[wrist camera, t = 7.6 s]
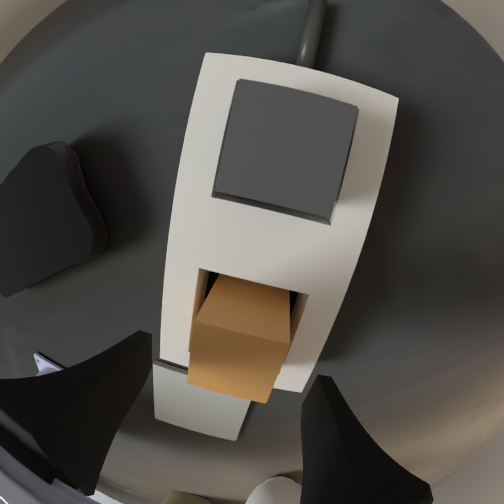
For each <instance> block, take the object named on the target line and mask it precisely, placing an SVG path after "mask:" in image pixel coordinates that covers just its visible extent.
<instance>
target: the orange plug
mask: <svg viewBox="0 0 504 504" xmlns="http://www.w3.org/2000/svg"><path fill="white" fill-rule="evenodd" d="M289 346H290V300H289V290H287V289H283V288H279V287H274V286H270V285H266V284H262V283H258V282H253V281H249V280H245V279H241V278H237V277H233V276H229V275H225V274H221V273H220V274H219V276H218V278H217V280H216V281H215V283H214V285H213V287H212V289H211V290H210V292H209V294H208V296H207V298H206V300H205V301H204V303H203V305H202V307H201V309H200V311H199V312H198V314H197V316H196V318H195V320H194V326H193V334H192V341H191V349H190V358H189V366H188V376H187V384H190V385H193V386H196V387H200V388H203V389H207V390H210V391H214V392H218V393H222V394H226V395H230V396H234V397H238V398H242V399H247V400H252V401H256V402H261V403H266V402H267V400H268V398H269V395H270V393H271V391H272V388H273V386H274V383H275V381H276V379H277V376H278V374H279V371H280V369H281V366H282V364H283V361H284V359H285V356H286V354H287V351H288V348H289Z"/></svg>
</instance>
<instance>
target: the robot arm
mask: <svg viewBox="0 0 504 504" xmlns="http://www.w3.org/2000/svg"><path fill="white" fill-rule="evenodd" d="M34 357H35V360H36V363H37V366H38V368H39V371H40V372H39V373H38V374H37V375H36V376H34V377H27V378H18V379H0V504H100V503H98V502H96V501H94V500H92V499H91V498H89V497H87V496H91V495H94V492H95V489H96V485H97V482H98V479H99V475H100V472H101V469H102V466H103V464H104V461H105V458H106V455H107V453H108V450H109V448H110V446H111V443H112V441H113V438H114V436H115V434H116V432H117V429H118V427H119V425H120V424H121V422H122V420H123V418H124V417H125V415H126V414H127V412H128V410H129V409H130V407H131V405H132V404H133V402H134V401H135V399H136V397H137V396H138V394H139V393H140V391H141V389H142V388H143V386H144V384H145V382H146V380H147V377H148V375H149V373H150V371H151V368H152V334H149V333H146V332H143V331H141V330H139V331H137V332H135V333H134V334H132V335H130V336H129V337H127V338H125V339H124V340H122V341H120V342H119V343H117V344H116V345H114V346H112V347H110V348H109V349H107V350H105V351H103V352H102V353H100V354H98V355H96V356H94V357H92V358H90V359H88V360H86V361H84V362H81V363H79V364H77V365H74V366H71V367H69V368H66V369H63V368H61V367H59V366H58V365H56V364H54V363H53V362H51V361H49V360H48V359H46V358H45V357H43V356H41V355H40V354H38V353H35V354H34ZM301 435H302V453H303V479H302V490H301V498H300V504H432V502H433V496H432V492H431V489H430V485H429V484H428V483H427V482H425V481H423V480H421V479H420V478H418V477H416V476H415V475H413V474H411V473H410V472H409V471H407V470H406V469H404V468H403V467H402V466H400V465H399V464H398V463H397V462H395V461H394V460H393V459H392V458H391V457H390V456H389V455H388V454H387V453H385V452H384V451H383V450H382V449H381V448H380V447H379V446H378V444H377V443H376V442H375V441H374V440H373V439H372V438H371V437H370V435H369V434H368V433H367V432H366V430H365V429H364V428H363V426H362V425H361V424H360V422H359V421H358V420H357V418H356V417H355V415H354V414H353V412H352V411H351V409H350V407H349V406H348V404H347V403H346V401H345V399H344V398H343V396H342V394H341V393H340V391H339V389H338V387H337V386H336V384H335V382H334V381H333V379H332V377H330V376H323V375H317V377H316V379H315V381H314V383H313V385H312V387H311V389H310V391H309V393H308V395H307V397H306V398H305V400H304V402H303V404H302V415H301ZM74 489H75V490H74ZM81 493H82V494H81Z"/></svg>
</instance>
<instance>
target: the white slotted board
mask: <svg viewBox="0 0 504 504" xmlns="http://www.w3.org/2000/svg"><path fill="white" fill-rule="evenodd" d="M326 7H327V1H326V0H310V2H309V6H308V10H307V15H306V19H305V24H304V28H303V32H302V37H301V41H300V45H299V50H298V54H297V58H296V63H295V65H292V64H287V63H282V62H277V61H271V60H265V59H259V58H252V57H245V56H237V55H228V54H217V53H206V54H205V57H204V61H203V64H202V68H201V71H200V75H199V79H198V83H197V87H196V90H195V94H194V99H193V103H192V107H191V111H190V116H189V120H188V125H187V129H186V134H185V139H184V144H183V149H182V154H181V159H180V165H179V170H178V176H177V182H176V188H175V194H174V201H173V208H172V215H171V222H170V230H169V238H168V246H167V256H166V265H165V276H164V288H163V302H162V318H161V341H160V358H161V359H164V360H167V361H171V362H174V363H177V364H180V365H183V366H187V367H188V366H189V358H190V349H191V341H192V334H193V326H194V320H195V318H196V316H197V314H198V312H199V311H200V309H201V307H202V305H203V303H204V301H205V295H206V289H207V283H208V277H209V271H213V272H217V273H221V274H225V275H229V276H233V277H237V278H241V279H245V280H249V281H253V282H258V283H262V284H266V285H270V286H274V287H279V288H283V289H287V290H291V291H296V292H298V295H297V298H296V301H295V304H294V307H293V311H292V313H291V316H290V346H289V348H288V351H287V354H286V356H285V359H284V361H283V364H282V366H281V369H280V371H279V374H278V376H277V379H276V381H275V383H274V386H273V388H277V389H283V390H289V391H295V392H302V390H303V388H304V386H305V384H306V382H307V380H308V378H309V376H310V374H311V372H312V370H313V368H314V366H315V364H316V362H317V360H318V357H319V355H320V353H321V351H322V349H323V347H324V344H325V342H326V340H327V338H328V335H329V333H330V331H331V328H332V326H333V324H334V321H335V319H336V316H337V314H338V311H339V309H340V307H341V304H342V301H343V299H344V296H345V294H346V291H347V289H348V286H349V283H350V281H351V278H352V275H353V272H354V269H355V267H356V264H357V261H358V258H359V255H360V252H361V249H362V246H363V243H364V240H365V237H366V234H367V231H368V227H369V224H370V221H371V218H372V214H373V211H374V207H375V204H376V200H377V197H378V193H379V189H380V185H381V181H382V177H383V173H384V169H385V165H386V161H387V157H388V152H389V148H390V143H391V138H392V133H393V128H394V123H395V117H396V112H397V106H398V100H399V98H397V97H394V96H392V95H389V94H387V93H384V92H382V91H379V90H377V89H374V88H371V87H369V86H366V85H363V84H360V83H357V82H354V81H351V80H348V79H345V78H342V77H338V76H335V75H332V74H328V73H324V72H321V71H317V70H314V65H315V60H316V55H317V51H318V46H319V41H320V36H321V31H322V27H323V22H324V17H325V12H326ZM239 79H246V80H253V81H259V82H265V83H270V84H275V85H280V86H285V87H289V88H294V89H298V90H302V91H306V92H310V93H314V94H318V95H322V96H325V97H329V98H332V99H336V100H339V101H342V102H345V103H349V104H352V105H355V106H358V107H357V112H356V117H355V122H354V127H353V131H352V136H351V140H350V145H349V149H348V153H347V158H346V162H345V166H344V170H343V174H342V178H341V182H340V186H339V190H338V193H337V197H336V201H335V205H334V208H333V212H332V216H331V219H329V218H325V217H322V216H318V215H314V214H310V213H306V212H303V211H299V210H295V209H291V208H287V207H283V206H279V205H274V204H270V203H266V202H262V201H258V200H253V199H249V198H245V197H240V196H236V195H231V194H226V193H222V192H217V191H215V186H216V181H217V176H218V171H219V166H220V161H221V156H222V152H223V147H224V142H225V138H226V133H227V129H228V124H229V120H230V116H231V111H232V107H233V103H234V99H235V95H236V91H237V87H238V83H239Z"/></svg>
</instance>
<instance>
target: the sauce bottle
mask: <svg viewBox="0 0 504 504" xmlns="http://www.w3.org/2000/svg"><path fill="white" fill-rule="evenodd" d="M301 490H302V486H301V485H300V484H297V483H295V482H294V480H292V479H289V478H286V477H283V476H277V477H274V478H270V479H268V480H266V481H265V482H264V483H261V484H259V485H258V486H257V487H256V488H255V489H254V491H253V492H252V493H251V494H250V496H249V498H248V499H247V501H246V504H300V498H301Z"/></svg>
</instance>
